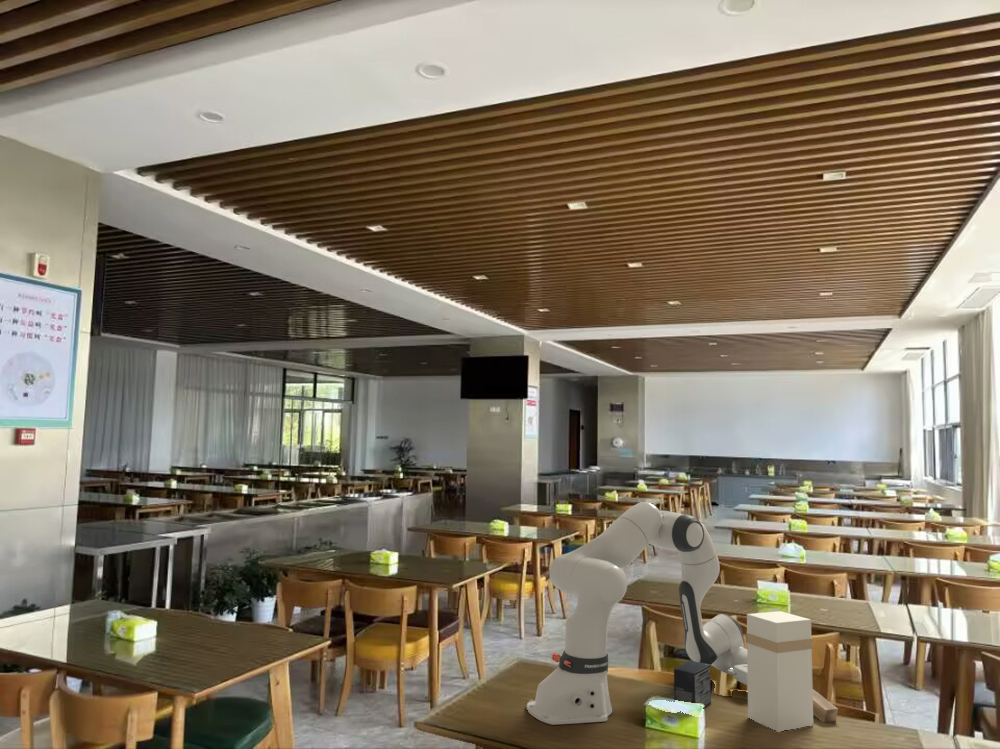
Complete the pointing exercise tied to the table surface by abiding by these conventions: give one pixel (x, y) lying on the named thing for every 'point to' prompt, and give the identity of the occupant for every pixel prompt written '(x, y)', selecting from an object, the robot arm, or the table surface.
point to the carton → (779, 670)
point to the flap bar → (823, 708)
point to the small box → (692, 683)
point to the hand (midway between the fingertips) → (788, 681)
